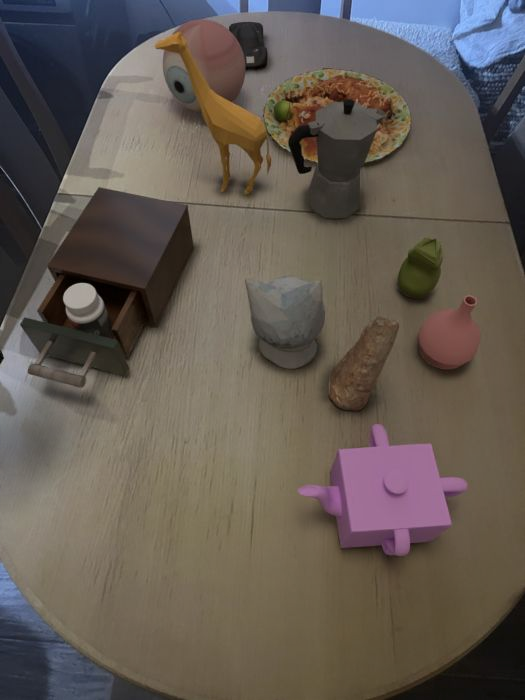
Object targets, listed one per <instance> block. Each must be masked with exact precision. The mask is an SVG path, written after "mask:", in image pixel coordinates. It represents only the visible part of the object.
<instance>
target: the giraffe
mask: <svg viewBox="0 0 525 700" xmlns="http://www.w3.org/2000/svg"><path fill="white" fill-rule="evenodd" d="M182 32H183V29H182V30H181V31H180V32H177V33H175V34H173V33H172V34H173V35H172V34H171V35H169V36H167V37H166V38H164V39H161V40H158V41H157V42H156V43H155V44H154V48H155V49H156V50H161V51H162V50H163V51H164V50H166V51H170V52H174V53H178V54H180V56H181V58H182V60H183V62H184V65H185V67H186V69H187V72H188V75H189V78H190V81H191V84H192V87H193V90H194V93H195V96H196V97H197V99H198V102H199V104H200V107H201V111H202V113H201V115H202V118H203V120H204V121H205V123H206V126H207V128H208V130H209V132H210V135H211V137H212V139H213V140H214V141H215V143H216V145H217V146H218V150H219V154H220V161H221V162H220V163H221V165H222V187H221V189H220V190H219V191H220V192H222V193H225V192H226V191H227V187H228V185H229V183H230V179H231V176H232V175H231V169H230V167H231V166H230V155H231V153H230V145H235V146H238V147H239V148H240V149H242V150H243V151H244V152H245V153H246V154H247V156H248V157H249V158H250V160H251V161H252V162H253V164H254V169H253V174H252V176H251V178H250V179H249V180H248V182H247V183H246V184H245V187H246V188H245V189H244V191H243V194H244V195H250V192H253V186H254V184H255V183H256V178H257V176H258V174H259V173H260V171H261V169H262V164H263V162H264V157H263V156H262V151H261V148H262V146H263V145H264V144H265V141H266V155H265V160H266V164H267V165H266V168H267V169H266V171H267V173H266V174H267V175H269V173H270V169H271V166H272V157H271V155H270V154H269V153H270V148H269V147H270V145H269V137H268V136H269V135H268V133H267V129H266V126H265V123H264V121H263V120H262V119H261V118H260V117H259V116H257V115H255V114H254V113H252V112H251V111H249V110H247V109H245V108H243V107H241V106H240V105H238V104H235V103H234V102H230V101H228V100H226V99H224V98H223V97H221V96H219V95H217V94H216V93H215V92H214V91H213V90H212V89H210V87H209V86H208V84H207V82H206V81H205V79H204V77H203V76H202V74H201V72H200V71H199V69H198V67H197V65H196V63H195V61H194V59H193V57H192V55H191V53H190V51H189V49H188V47H187V40H186V39H185V38H184V37H183V33H182Z"/></svg>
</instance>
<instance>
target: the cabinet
mask: <svg viewBox="0 0 525 700" xmlns="http://www.w3.org/2000/svg"><path fill="white" fill-rule="evenodd" d="M193 238H194V237H193V231H192V226H191V219H190V212H189V207H188V205H187V204H184V203H178V202H175V201H168V200H164V199H159V198H154V197H149V196H145V195H140V194H134V193H130V192H125V191H121V190H116V189H111V188H105V187H101V186H98V187H97V189H96V191H95V192H94V193H93V195H92V196H91V198H90V200H89V201H88V202H87V204H86V206H85V207H84V209H83V211H81V214H80V215H79V216H78V218H77V219H76V221H75V223H73V225H72V227H71V229H70V230H69V231H68V233H67V235H66V236H65V238H64V239H63V241H62V242H61V244H60V245H59V247H58V249H57V250H56V251H55V253H54V254H53V256H52V257H51V259H50V261H49V262H48V264H47V265H46V267H47V270H48V271H49V273H50V274H51V277H52V279H53V280H54V282H55V281H56V280H57V278H58V276H59V275H60V273H62V274H66V275H70V276H75V277H79V278H83V279H88V280H92V281H96V282H101V283H105V284H109V285H113V286H118V287H122V288H126V289H131V290H135V291H139V292H140V293H141V296H142V299H143V302H144V306H145V309H146V312H147V315H148V316H147V318H146V320H145V323H144V325H145V326H148V327H153V328H157V327H158V326H159V324H160V322H161V319H162V317H163V315H164V313H165V310H166V308H167V307H168V304H169V302H170V300H171V298H172V295H173V294H174V292H175V290H176V287H177V285H178V283H179V281H180V279H181V277H182V274H183V272H184V270H185V268H186V266H187V264H188V262H189V259H190V258H191V255H192V253H193V251H194V248H195V245H194V239H193ZM144 325H143V326H144Z"/></svg>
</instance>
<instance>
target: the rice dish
mask: <svg viewBox="0 0 525 700" xmlns="http://www.w3.org/2000/svg"><path fill="white" fill-rule="evenodd" d="M345 99H352V100H354V102H355V103H359V104H360V105H362V106H364V107H365V108H371V109H378V110H383V111H384V112H385V113H386V115H387V116H386V117H385V118H384V119H382V121H381V122H380V123H379V124H378V126H377V132H376V135H375V137H374V140H373V142H372V145H371V147H370V150H369V152H368V155H367V158H366V160H365V163H364V165H365V164H369V163H373V162H375V161H380V160H382V159H385V158H387V157H388V156H389V155H392V153H394V152H396V151H397V150H398V149H399V148H400V146H401V145H402V144H403V143H404V141H405V140H406V138H407V136H408V135H409V132H411V129H412V125H411V124H412V117H411V115H412V113H411V110H410V108H409V103H407V101H406V100H404V98H403V96H402V95H401V94H400V93H398V92H397V90H396V89H395V88H393V86H390V85H389V84H388V83H387V82H385V81H383V80H381V79H379V78H377V77H375V76H370V75H369V74H368V73H363V72H359V71H355V70H354V71H353V70H351V69H350V70H348V69H347V70H346V69H341V68H340V69H339V68H338V69H336V68H331V67H323V68H322V69H318V70H313V71H311V70H310V71H307V72H305V73H301V74H297V75H295V76H292V77H289V78H288V79H285V80H284V82H283V83H281V84H280V85H278V86H276V88H275V89H273V91H272V92H271V93H270V94H269V95H268V98H267V102H266V103H265V104H264V107H263V114H262V117H263V123H264V125H265V127H266V132H267V135H268V136H269V137H270V138H271V140H272V142H273V143H275V144H276V145H277V146H278V147H279V148H281V149H282V150H283V151H285V152H287V153H290V154H292V153H291V150H290V148H289V145H288V140H289V137H290V135H291V134H292V133H293V132H294V131H295V129H296V128H297V127H298V126H300V125H307V124H308V123H309V122H314V121H316V111H318V110H320V109H321V108H323V107H325V106H326V105H328V104H330V103H332V102H343V101H344V100H345ZM300 144H301V148H302V155H303V157H304V161H308V162H313V163H316V164H317V163H318V156H317V137H310V138H303V139H302V140H301V141H300Z"/></svg>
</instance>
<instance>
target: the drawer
mask: <svg viewBox="0 0 525 700" xmlns="http://www.w3.org/2000/svg"><path fill="white" fill-rule="evenodd" d="M78 283H87V284H90V285H92V286H93V287H94V288H95V290H96V292H97V294H98V295H99V296H100V297H101V298H102V300H103V302H104V304H105V307H106V309H107V312H108V314H109V317H110V319H111V321H112V324H113V327H112V332H113V336H112V338H111V339H110V338H106V337H102V336H98V335H94V334H90V333H86V332H82V331H78V330H74V328H73V326H72V324H71V322H70V320H69V318H68V317H67V314H66V305H65V303H64V301H63V296H64V293H65V291H66V290H67V289H68V288H69V287H71V286H72V285H74V284H78ZM36 312H37V314H38V315H39V317H40V318H41V320H37V319H33V318H29V317H23V319H22V320H21V322H20V324H19V325H20V327H21V329H22V330H23V331H24V333H25V334H26V336H27V337H28V339H29V341H30V342H31V343H32V345H33V346H34V348H35V349H36V351H38V354H39V355H38V357H37V358H36V360H35V361H34V363H33V362H32V363H30V364H29V365H28V367H27V374H28V375H30V376H34V377H37V378H42V379H45V380H50V381H54V382H56V383H61V384H65V385H69V386H71V387H76V388H80V389H82V388H84V387H85V385H86V383H87V378H86V377H87V374H88V373H89V371H90V369H91V368H95V369H98V370H102V371H105V372H109V373H114V374H117V375H122V376H127V375H128V373H129V371H130V370H131V369H130V365H129V363H128V361H127V359H126V357H129V355H130V353H131V351H132V349H133V347H134V345H135V343H136V341H137V339H138V337H139V335H140V333H141V330H142V328H143V327H144V323H145V320H146V318H147V316H148V315H147V312H146V309H145V306H144V302H143V299H142V296H141V293H140V292H139V291H135V290H131V289H126V288H122V287H118V286H113V285H109V284H105V283H101V282H96V281H92V280H88V279H83V278H79V277H75V276H70V275H66V274H62V273H60V275H59V276H58V278H57V280H56V281H55V280H54V283H53V284H52V286H51V288H50V289H49V291H48V292H47V293H46V296H45V297H44V298H43V300H42V301H41V303H40V305H39V307H38V308H37V310H36ZM47 357H53V358H56V359H60V360H63V361H67V362H72V363H75V364H79V365H83V367H82V369H81V371H80V373H78V374H77V373H72V372H68V371H63V370H61V369H56V368H53V367H49V366H45V365H43V363H44V362H45V359H46V358H47Z"/></svg>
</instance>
